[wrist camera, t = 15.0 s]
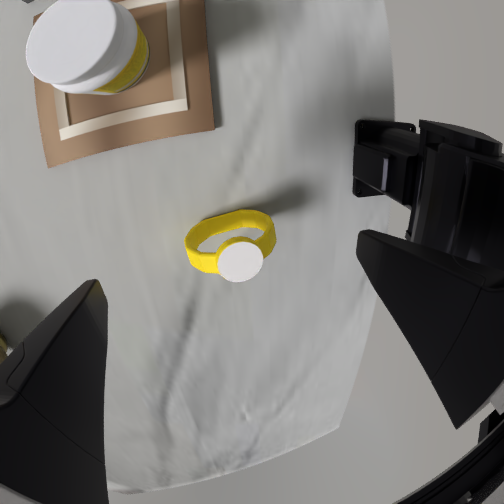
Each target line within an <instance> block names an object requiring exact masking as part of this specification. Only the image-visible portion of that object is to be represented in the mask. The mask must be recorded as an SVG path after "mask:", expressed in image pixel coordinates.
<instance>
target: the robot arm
mask: <svg viewBox="0 0 504 504" xmlns="http://www.w3.org/2000/svg"><path fill="white" fill-rule="evenodd" d="M361 124H363V127H362V128H361V127H360V126H361ZM419 127H420V134H417V133H416V127H415V125H414V124H411V123H402V122H391V121H377V120H358V121H357V122H356V123H355V146H354V158H353V194H354V195H355V196H357V197H368V196H377V195H387V196H388V197H390V198H392V199H394V200H395V201H397V202H399V203H400V204H402V205H404V206H405V207H407V208H408V209H410V210H411V215H410V221H409V227H408V230H406V235H405V238H406V240H404V239H401V238H398V237H394V236H391V235H388V234H384V233H381V232H377V231H374V230H370V229H368V230H362V231H360V232H359V234H358V240H357V248H356V255H357V258H358V260H359V262H360V264H361V265H362V267H363V269H364V271H365V273H366V275H367V276H368V278H369V280H370V282H371V284H372V286H373V287H374V289H375V291H376V292H377V294H378V295H379V297H380V298H381V300H382V301H383V303H384V304H385V306H386V308H387V309H388V311H389V312H390V314H391V315H392V317H393V318H394V320H395V322H396V323H397V325H398V326H399V328H400V329H401V331H402V333H403V334H404V336H405V338H406V339H407V341H408V342H409V344H410V346H411V348H412V349H413V351H414V352H415V354H416V356H417V358H418V360H419V361H420V363H421V365H422V366H423V368H424V370H425V372H426V374H427V375H428V377H429V379H430V381H431V383H432V385H433V386H434V388H435V390H436V392H437V394H438V396H439V398H440V400H441V401H442V403H443V405H444V407H445V409H446V411H447V413H448V415H449V417H450V419H451V421H452V423H453V425H454V427H455V428H456V429H458V428H460V427H461V426H462V425H463V424H464V423H466V422H467V421H469V420H470V419H471V418H472V417H473V416H475V415H476V414H477V413H478V412H479V411H481V410H482V409H483V408H484V407H485V406H486V405H487V404H488V403H490V402H491V403H492V405H493V406H494V407H495V410H494V411H493V412H492V413H491V414H490V415H489V416H488V417H487V418H486V419H485V420H484V421H482V422H481V423H480V431H479V438H478V444H477V445H476V446H475V447H474V448H473V449H472V450H470V451H469V452H468V453H467V454H466V455H464V456H463V457H462V458H461V459H459V460H458V461H457V462H456V463H454V464H453V465H452V466H451V467H449V468H448V469H446V470H445V471H443V472H442V473H441V474H439V475H438V476H436V477H435V478H434V479H432V480H431V481H429V482H428V483H426V484H425V485H423V486H421V487H420V488H418V489H417V490H415V491H414V492H412V493H410V494H408V495H407V496H405V497H403V498H402V499H400V500H398V501H396V502H395V503H393V504H504V154H503V153H502V143H501V142H499V141H497V140H495V139H493V138H491V137H490V136H487V135H486V134H484V133H481V132H478V131H475V130H471V129H468V128H464V127H460V126H456V125H451V124H445V123H439V122H433V121H427V120H419ZM410 128H411V131H410ZM359 189H360V192H359V193H358V190H359ZM107 345H108V302H107V299H106V296H105V294H104V292H103V289H102V287H101V284H100V282H99V281H98V280H97V279H92V280H87V281H85V282H84V283H83V284H82V285H81V286H80V287H79V288H77V289H76V290H75V291H74V292H73V293H72V294H71V295H70V296H69V297H67V298H66V299H65V300H64V301H63V302H62V303H61V304H60V305H59V306H58V307H57V308H56V309H55V310H54V311H52V312H51V313H50V314H49V315H48V316H47V317H46V318H45V319H44V320H43V321H42V322H41V323H40V324H39V325H38V326H37V327H36V328H35V329H34V330H33V331H32V332H31V333H30V334H29V335H28V336H27V337H26V338H25V339H24V340H23V342H21V343H20V344H19V345H18V346H17V347H16V348H15V349H14V350H13V352H12V353H11V354H10V355H9V356H8V357H7V358H6V359H5V360H4V361H3V362H2V363H1V364H0V504H109V500H108V491H107V481H106V469H105V465H104V464H105V455H104V388H105V370H106V357H107Z"/></svg>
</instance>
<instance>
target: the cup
mask: <svg viewBox="0 0 504 504" xmlns="http://www.w3.org/2000/svg"><path fill="white" fill-rule="evenodd" d="M6 352H7V341H6V339H5V338H4V336H3V335H2V334H1V333H0V364H1V363H2V362H3V361H4V360H5V359H6V358H7V357H8V356H7V354H6Z"/></svg>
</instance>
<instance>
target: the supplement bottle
mask: <svg viewBox="0 0 504 504" xmlns="http://www.w3.org/2000/svg"><path fill="white" fill-rule="evenodd" d="M26 60H27V64H28V67H29V69H30V71H31V72H32V74H33V75H34V76H35V77H36V78H38V79H39V80H41V81H43V82H46V83H50V84H51V85H53V86H54V87H55V88H57V89H59V90H61V91H63V92H67V93H73V94H98V95H113V94H118V93H121V92H123V91H125V90H127V89H129V88H131V87H132V86H134V85H135V84H136V83H137V82H138V81H139V80H140V79H141V78H142V76H143V75H144V73H145V72H146V70H147V67H148V65H149V61H150V47H149V43H148V41H147V39H146V37H145V36H144V34H143V32H142V31H141V29H140V27H139V25H138V24H137V22H136V20H135V19H134V17H133V15H132V14H131V13H130V12H129V11H128V10H127V9H126V8H125V7H123V6H122V5H120V4H118V3H115V2H111V1H110V0H58V1H57V2H55V3H54V4H53V5H51V6H50V7H49V8H48V9H47V10H46V11H45V12H44V13H43V14H42V15H41V16H40V17H39V19H38V20H37V21H36V23H35V24H34V26H33V28H32V30H31V32H30V34H29V38H28V40H27V45H26Z"/></svg>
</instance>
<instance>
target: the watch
mask: <svg viewBox="0 0 504 504" xmlns="http://www.w3.org/2000/svg"><path fill="white" fill-rule="evenodd" d="M241 227H250V228H259V229H261V230H263V231H265V232H264V234H263V235H262V236H261V237H259V238H258V239H256V240H255V241H254V240H252V239H250V238H248V237H241V236H240V237H233V238H231V239H229V240H227V241H225V242H224V243H223V244H222V245H221V246H220V247H219V249H218V250H217V252H216V253H207V252H200V251H198V250H197V248H198V246H199V244H201V243H202V242H203V241H205V240H206V239H207V238H209V237H210V236H212V235H216V234H219V233H223V232H227V231H230V230H234V229H237V228H241ZM184 243H185V247H186V251H187V254H188V256H189V259H190V262H191V264H192V266H194V267H196V268H197V269H199V270H201V271H203V272H206V273H219V274H220V275H221V276H222V277H223V278H224V279H226V280H229V281H231V282H243V281H247V280H249V279H251V278H252V277H254V276H255V275H256V274H257V273H258V272H259V270H260V269H261V267H262V264H263V259H264V258H265V257H267V256H268V255H269V254H270V253H271V252H272V250H273V248H274V246H275V244H276V234H275V228H274V223H273V222H272V220H271V218H270V216H269V215H267V214H265V213H262V212H260V211H256V210H244V209H238V211H234V212H231V213H227V214H223V215H220V216H216V217H213V218H209V219H206V220H203V221H201V222H200V223H198V224H197V225H195V226H194V227H193V228H192V229H191V230H190V231H189V233H188V234H187V236H186V237H185V240H184Z"/></svg>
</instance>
